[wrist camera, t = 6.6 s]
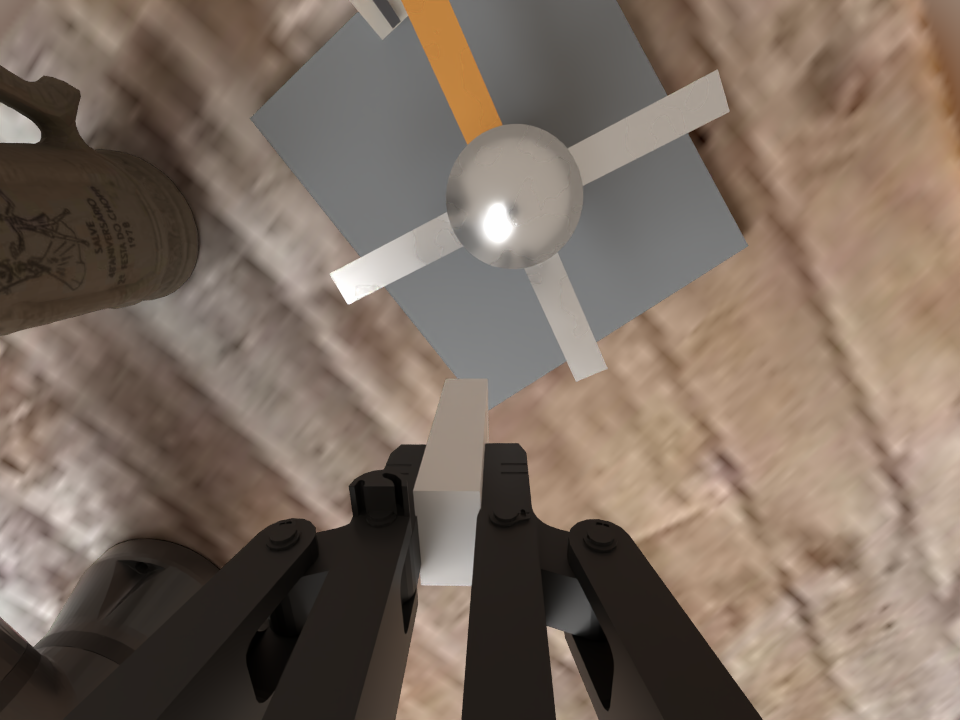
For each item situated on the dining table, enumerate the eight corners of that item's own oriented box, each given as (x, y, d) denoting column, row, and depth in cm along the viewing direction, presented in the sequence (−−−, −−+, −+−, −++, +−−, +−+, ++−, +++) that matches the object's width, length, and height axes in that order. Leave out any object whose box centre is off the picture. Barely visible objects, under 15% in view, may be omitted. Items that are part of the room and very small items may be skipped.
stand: (485, 404, 38) (474, 512, 25) (261, 121, 31) (94, 76, 19) (738, 243, 32) (885, 278, 20) (529, -141, 26) (549, -455, 13)
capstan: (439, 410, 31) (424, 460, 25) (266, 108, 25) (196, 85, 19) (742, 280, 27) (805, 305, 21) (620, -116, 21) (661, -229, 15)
